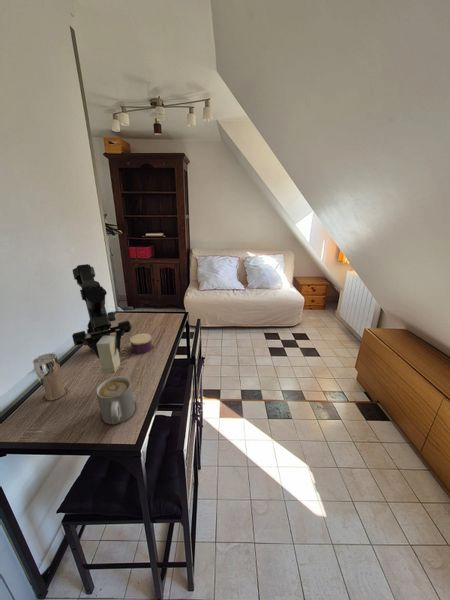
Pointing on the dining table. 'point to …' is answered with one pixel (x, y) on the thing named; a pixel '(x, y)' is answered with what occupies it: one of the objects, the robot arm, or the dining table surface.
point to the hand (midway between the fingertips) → (109, 354)
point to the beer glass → (49, 375)
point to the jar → (141, 343)
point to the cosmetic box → (108, 354)
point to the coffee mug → (116, 400)
